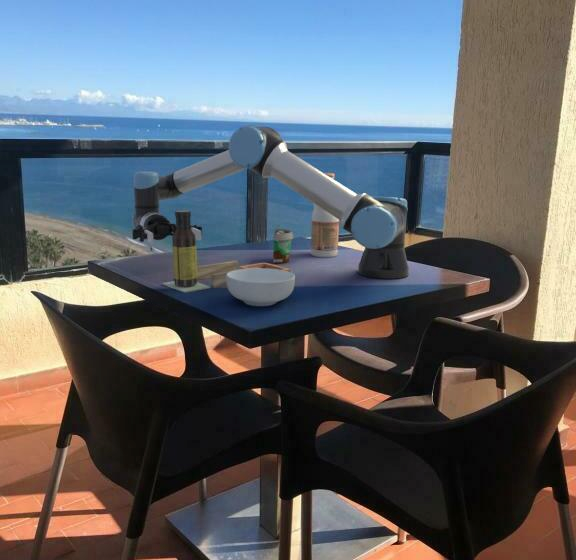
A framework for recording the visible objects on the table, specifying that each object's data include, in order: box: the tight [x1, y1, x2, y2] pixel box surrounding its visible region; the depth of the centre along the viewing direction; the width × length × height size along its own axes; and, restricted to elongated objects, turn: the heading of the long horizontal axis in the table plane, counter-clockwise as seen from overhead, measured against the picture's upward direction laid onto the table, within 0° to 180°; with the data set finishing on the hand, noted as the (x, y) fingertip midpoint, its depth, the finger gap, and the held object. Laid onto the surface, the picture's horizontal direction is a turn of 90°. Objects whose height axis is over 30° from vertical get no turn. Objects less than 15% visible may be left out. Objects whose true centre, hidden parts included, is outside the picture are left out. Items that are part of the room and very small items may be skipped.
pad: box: [162, 280, 211, 293], centre depth 161 cm, size 11×8×1 cm
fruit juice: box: [310, 172, 340, 258], centre depth 205 cm, size 9×9×28 cm
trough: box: [197, 260, 261, 289], centre depth 169 cm, size 12×16×4 cm
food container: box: [272, 228, 294, 265], centre depth 194 cm, size 12×6×10 cm, turn 179°
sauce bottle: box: [171, 209, 198, 287], centre depth 158 cm, size 6×6×20 cm
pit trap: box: [238, 262, 292, 273], centre depth 179 cm, size 12×10×2 cm
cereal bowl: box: [226, 268, 296, 307], centre depth 147 cm, size 17×17×7 cm
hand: (176, 237), depth 164 cm, fingers open, 13 cm apart
